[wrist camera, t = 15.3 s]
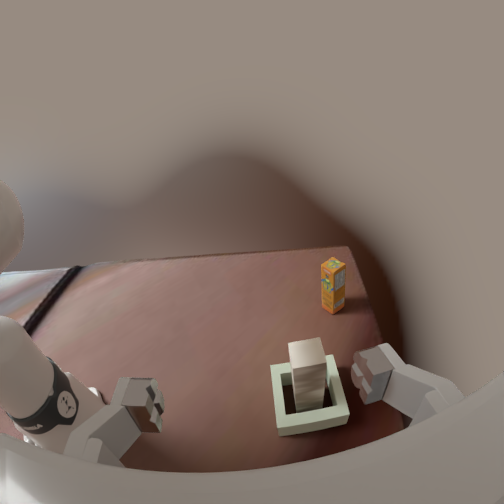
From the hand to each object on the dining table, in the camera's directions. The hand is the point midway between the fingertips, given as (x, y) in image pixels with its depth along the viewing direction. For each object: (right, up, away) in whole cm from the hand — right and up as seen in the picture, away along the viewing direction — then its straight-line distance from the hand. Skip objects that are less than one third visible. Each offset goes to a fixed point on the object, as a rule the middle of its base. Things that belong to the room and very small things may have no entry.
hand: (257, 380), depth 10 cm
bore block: (+8, -16, +24) cm, 30 cm away
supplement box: (+15, -5, +39) cm, 42 cm away
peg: (+8, -16, +24) cm, 30 cm away
